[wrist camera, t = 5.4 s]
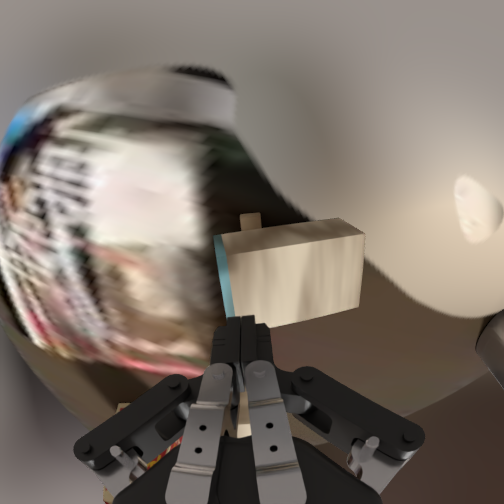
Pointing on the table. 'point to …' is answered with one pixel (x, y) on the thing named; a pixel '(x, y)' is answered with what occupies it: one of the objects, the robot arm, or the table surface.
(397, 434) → the robot arm
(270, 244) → the teal-foot block
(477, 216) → the table surface
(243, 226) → the strip
